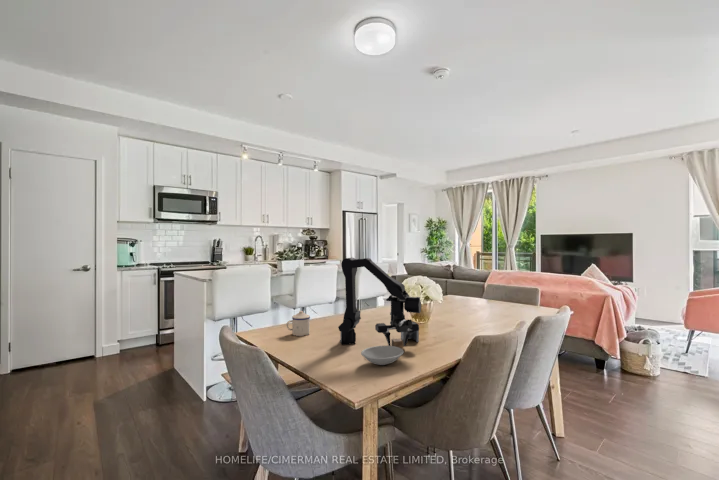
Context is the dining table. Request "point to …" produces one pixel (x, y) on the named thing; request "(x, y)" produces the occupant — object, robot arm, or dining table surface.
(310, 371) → the dining table surface
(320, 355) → the dining table surface
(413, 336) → the grey cover
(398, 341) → the walnut block
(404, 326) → the robot arm
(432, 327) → the dining table surface
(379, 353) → the dish
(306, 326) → the teacup with lid
